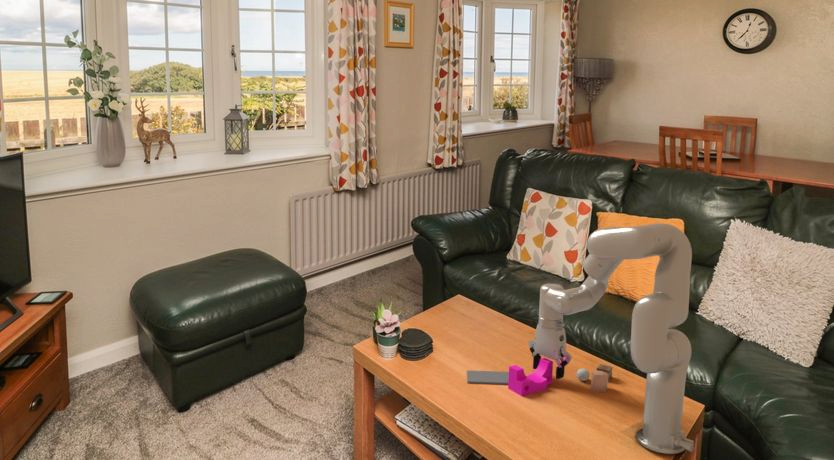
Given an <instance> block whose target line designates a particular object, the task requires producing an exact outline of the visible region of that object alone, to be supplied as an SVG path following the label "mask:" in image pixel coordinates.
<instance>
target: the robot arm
mask: <svg viewBox="0 0 834 460" xmlns="http://www.w3.org/2000/svg"><path fill="white" fill-rule="evenodd" d="M586 249H587V251H588V255H587V256H586V258H585V259H584V260H583V263H582V267H583V270H584V272H585V273H586V274H587V275H588V276H587V278H585V280H584V281H583V282H582V284H581V285H579V286H577V287H573V288H569V289H564V287H563V285H561V284H557V283H545V284H542V285H541V286H540V289H539V307H538V310H539V311H538V323H537V325H536V329H535V333H534V339H532V340H528V342H527V344H528V347H529V350H530V351H529V352H531V357H532V359H533V360H532V370H536V369H537V367H538V365H539V362H540V359H542V356H543V357H544V358H547V359H549V360H550V359H551V360H554V361H555V363H556V365H557V366H556V367H555V369H556V370H555V379H556V380H560V379H562V378H564V377H565V368H566V366H567V365H568V364H570V361H571V360H572V358H573V356H572V354H570V353H569V351H567V337H566V330H565V328H564V327H565V325H566V324H565V323H564V322H563V321H564V316H569V315H573V314H576V313H577V314H578V313H580V312H583V311H588V310H590V309H591V308H593V307H594V306H595V305H596V304H597V303H598V302H599V301H600V299H601V298H602V297H603V296H604V295H605V293H606V291H607V290H608V285H609V279H610V277H611V276H612V274H613V273H614V272H615V271H616V269H618V267H619V266H620V265H621V264H622V262H624V260H639V259H646V258H652V257H656V256H657V257H659V260H658V263H657V265H656V267H655V273H654V285H653V292H652V293H649V294H647V295H643V296H642V297H641V298H640V299H638V300H637V302H636V303H635V304H634V306H633V309H632V314H631V333H630V355H631V359H632V362H633V364H634V365H635V367H636V368H637V369H638V370H639V371H641V372H642V373H645V374H646V383H645V393H644V406H643V407H644V408H643V419H642V420H643V421H642V428H640V429H638V430H637V431H636V434H635V438H636V441H637V442H638V443H639V444H640V445H641V446H643V447H644V448H646V449H647V450H650V451H653V452H656V453H660V454H661V453H662V454H666V455H669V454H670V455H671V454H673V455H674V454H680V453H683V452H684V451H685V450H686V451H688V452H690V453H692V452H693V451H694V447H695V446H694V444H695V441H694V440H691V439H690V438H687V437H686V436H685V435H686V434H685V433H686V430H683V429H682V423H683V414H684V413H683V410H684V400H685V387H686V379H687V373H688V369H689V365H690V362H691V357H692V344H691V341H690V340H689V338H688V337H687V335H686V334H684V332H682V331H680V330H677V329H674V327H677V326H680V325H681V324H683V323H684V322H686V320H687V318H688V316H689V306H690V305H689V304H690V290H691V289H690V287H691V272H692V271H691V268H692V259H693V251H692V245H691V242H690V241H689V237H687V235H686V234H685V233H684V232H683V231H682V230H681V229H680V228H678V227H677V226H675V225H672V224H668V223H661V222H658V223H650V224H645V225H637V226H627V227H622V226H613V227H612V226H611V227H604V228H598V229H596V230H594V231H593V232H592V233H590V235H589V237H588V239H587V242H586Z"/></svg>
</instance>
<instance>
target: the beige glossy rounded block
mask: <svg viewBox="0 0 834 460" xmlns="http://www.w3.org/2000/svg"><path fill="white" fill-rule="evenodd" d="M608 387H609V382H608V373H606V372H603V371H596V370H593V371H592V372H591V379H590V389H591V390H592V391H594V392H597V393H605V392H607V391H608Z"/></svg>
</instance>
